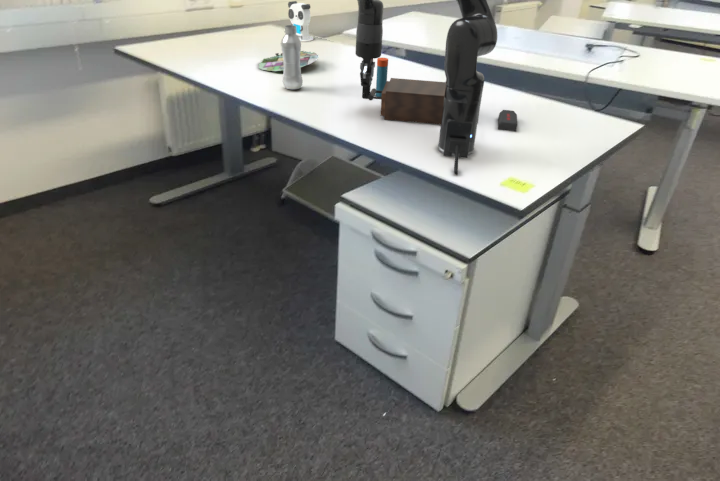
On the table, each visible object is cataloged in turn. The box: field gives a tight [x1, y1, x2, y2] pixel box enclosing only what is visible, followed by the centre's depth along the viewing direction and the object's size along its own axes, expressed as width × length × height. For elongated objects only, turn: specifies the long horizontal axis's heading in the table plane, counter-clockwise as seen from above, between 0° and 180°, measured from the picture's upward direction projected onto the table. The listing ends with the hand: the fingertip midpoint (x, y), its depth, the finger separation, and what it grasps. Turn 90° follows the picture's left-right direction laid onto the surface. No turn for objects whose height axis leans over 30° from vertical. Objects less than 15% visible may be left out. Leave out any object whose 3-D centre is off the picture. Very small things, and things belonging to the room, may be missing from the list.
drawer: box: [367, 80, 390, 117], centre depth 164 cm, size 22×12×7 cm, turn 81°
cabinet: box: [383, 77, 446, 126], centre depth 163 cm, size 19×14×9 cm
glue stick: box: [375, 57, 389, 97], centre depth 176 cm, size 4×4×12 cm
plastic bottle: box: [280, 24, 304, 90], centre depth 178 cm, size 6×7×20 cm
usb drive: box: [497, 109, 518, 132], centre depth 161 cm, size 5×12×3 cm, turn 167°
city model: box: [258, 50, 319, 72], centre depth 205 cm, size 25×23×6 cm
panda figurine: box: [287, 0, 314, 43], centre depth 240 cm, size 12×11×15 cm
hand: (365, 98), depth 165 cm, fingers closed
